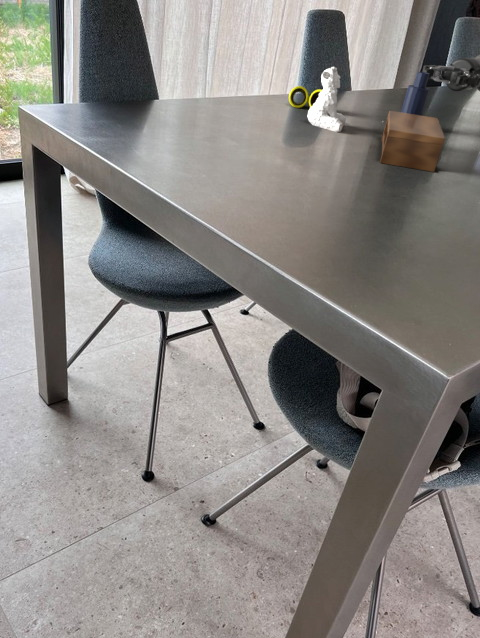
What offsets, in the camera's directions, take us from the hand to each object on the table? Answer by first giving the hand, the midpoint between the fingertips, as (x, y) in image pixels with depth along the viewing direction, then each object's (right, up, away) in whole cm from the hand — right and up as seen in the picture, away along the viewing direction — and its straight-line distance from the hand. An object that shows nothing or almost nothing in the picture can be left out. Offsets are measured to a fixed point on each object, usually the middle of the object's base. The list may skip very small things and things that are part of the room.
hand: (440, 77), depth 137 cm
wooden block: (-17, -28, -23) cm, 40 cm away
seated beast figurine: (-30, -16, -8) cm, 35 cm away
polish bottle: (-9, -13, -1) cm, 15 cm away
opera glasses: (-31, -4, +7) cm, 32 cm away
